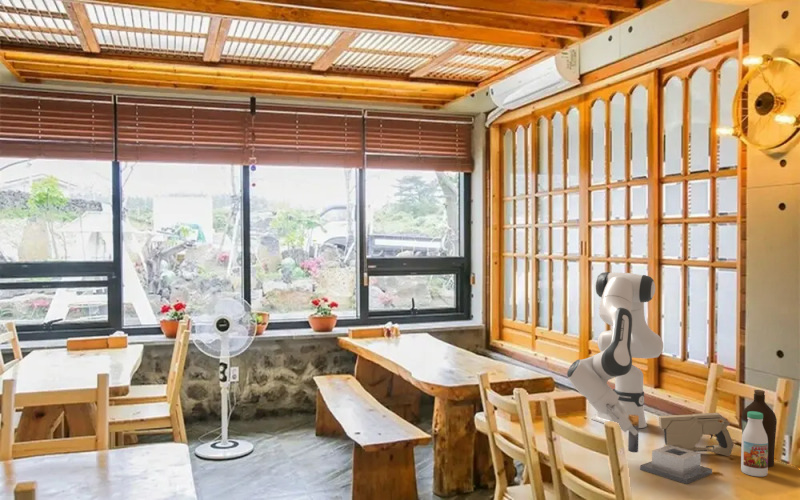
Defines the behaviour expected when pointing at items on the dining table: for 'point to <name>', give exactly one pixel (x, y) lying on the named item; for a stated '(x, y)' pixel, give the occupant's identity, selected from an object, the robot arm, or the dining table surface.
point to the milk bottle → (754, 446)
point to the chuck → (676, 464)
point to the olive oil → (768, 421)
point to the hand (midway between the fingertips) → (635, 431)
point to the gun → (696, 432)
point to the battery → (633, 438)
